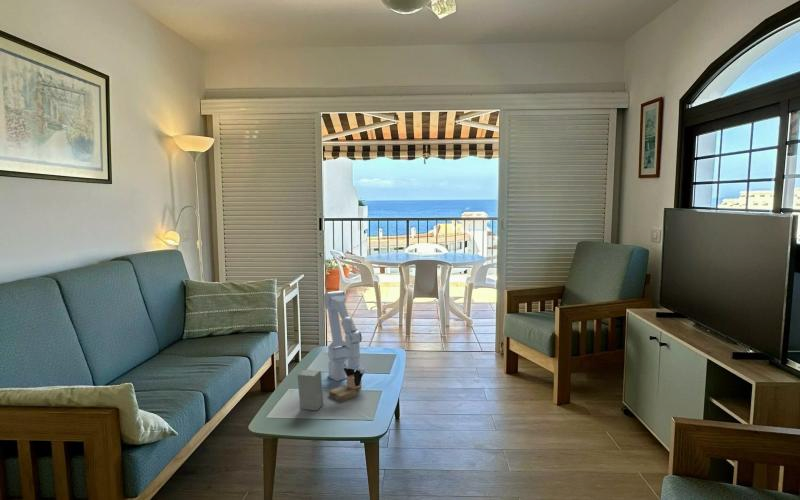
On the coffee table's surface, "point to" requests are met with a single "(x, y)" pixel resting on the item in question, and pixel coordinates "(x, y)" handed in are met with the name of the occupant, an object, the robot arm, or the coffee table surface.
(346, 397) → the tan flat block
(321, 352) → the coffee table surface
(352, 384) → the cube
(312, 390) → the skincare box
